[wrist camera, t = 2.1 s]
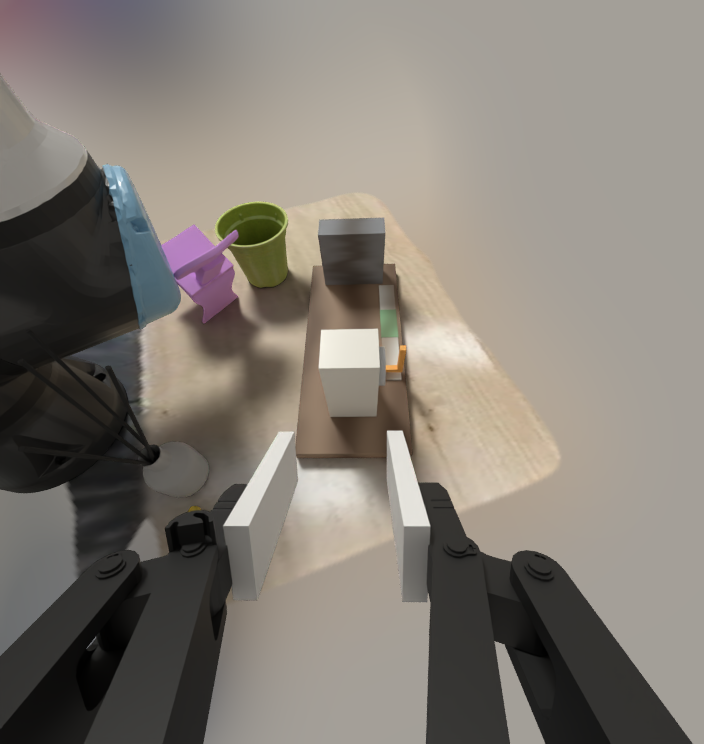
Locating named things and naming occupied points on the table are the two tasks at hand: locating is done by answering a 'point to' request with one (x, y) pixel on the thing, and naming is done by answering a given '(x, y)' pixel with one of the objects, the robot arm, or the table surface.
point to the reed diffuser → (161, 464)
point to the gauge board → (352, 311)
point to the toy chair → (202, 269)
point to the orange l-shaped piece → (400, 361)
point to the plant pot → (257, 241)
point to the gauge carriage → (351, 371)
